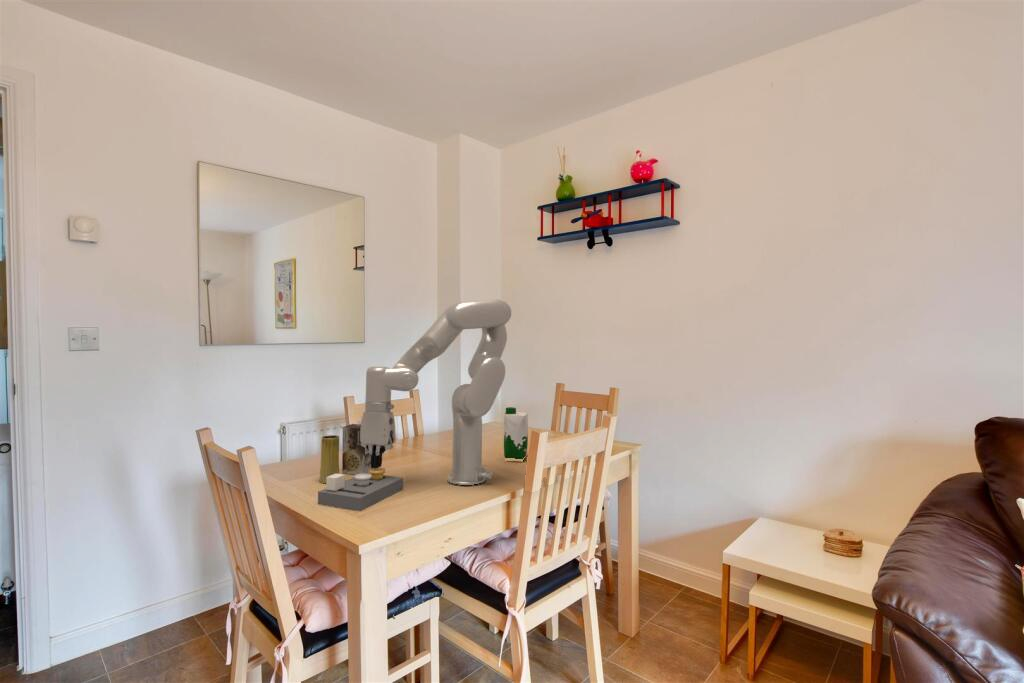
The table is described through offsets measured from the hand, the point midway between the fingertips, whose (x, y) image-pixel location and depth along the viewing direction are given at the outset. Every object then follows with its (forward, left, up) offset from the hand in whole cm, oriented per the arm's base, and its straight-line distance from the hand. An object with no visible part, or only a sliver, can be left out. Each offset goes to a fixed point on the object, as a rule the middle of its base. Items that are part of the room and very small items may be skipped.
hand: (376, 467), depth 151 cm
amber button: (0, 0, -4) cm, 4 cm away
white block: (+4, +14, -6) cm, 15 cm away
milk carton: (-27, -53, -7) cm, 59 cm away
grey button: (0, +7, -4) cm, 8 cm away
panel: (0, +7, -7) cm, 10 cm away
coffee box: (+17, -14, -7) cm, 23 cm away
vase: (+19, -2, -7) cm, 20 cm away
